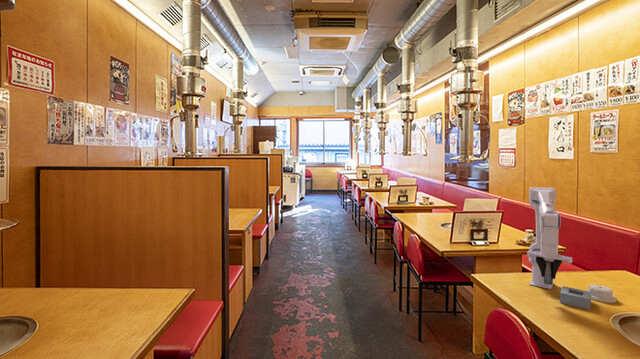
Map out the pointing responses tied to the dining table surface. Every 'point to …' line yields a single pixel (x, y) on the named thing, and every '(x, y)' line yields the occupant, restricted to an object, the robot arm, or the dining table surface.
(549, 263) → the steel pin
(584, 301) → the block
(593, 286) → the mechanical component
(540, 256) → the robot arm
